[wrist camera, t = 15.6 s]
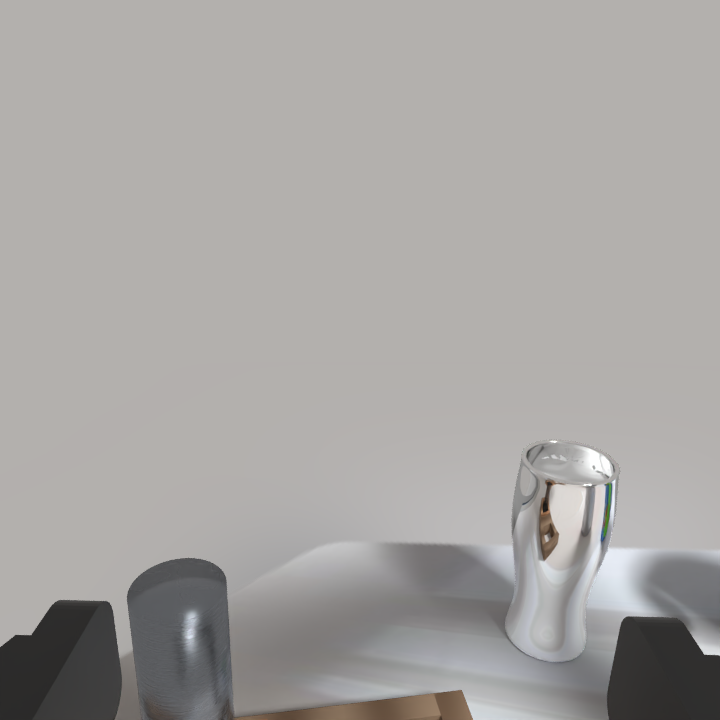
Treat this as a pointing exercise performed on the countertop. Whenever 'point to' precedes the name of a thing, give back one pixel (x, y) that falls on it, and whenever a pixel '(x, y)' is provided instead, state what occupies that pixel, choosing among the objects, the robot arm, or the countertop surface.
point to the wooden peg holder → (384, 709)
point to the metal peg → (182, 641)
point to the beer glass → (558, 544)
